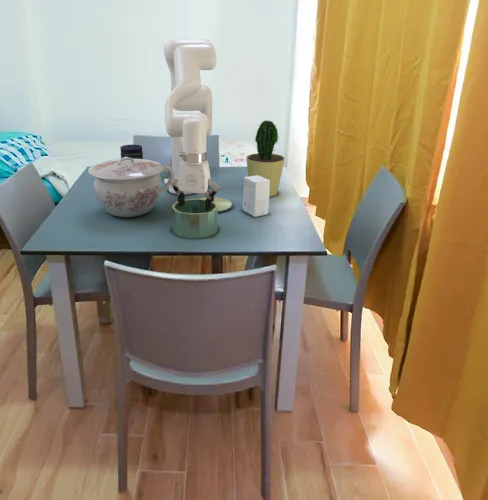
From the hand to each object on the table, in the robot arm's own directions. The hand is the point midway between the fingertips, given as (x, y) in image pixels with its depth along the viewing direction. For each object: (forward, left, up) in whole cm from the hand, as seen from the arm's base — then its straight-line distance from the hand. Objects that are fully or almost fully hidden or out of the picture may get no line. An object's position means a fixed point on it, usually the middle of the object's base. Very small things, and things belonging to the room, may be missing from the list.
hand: (194, 207), depth 164 cm
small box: (+14, +24, -8) cm, 29 cm away
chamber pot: (-30, +7, -8) cm, 32 cm away
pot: (0, 0, -8) cm, 8 cm away
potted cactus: (+10, +48, -8) cm, 50 cm away
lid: (-4, +24, -7) cm, 25 cm away
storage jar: (-50, +44, -8) cm, 67 cm away
